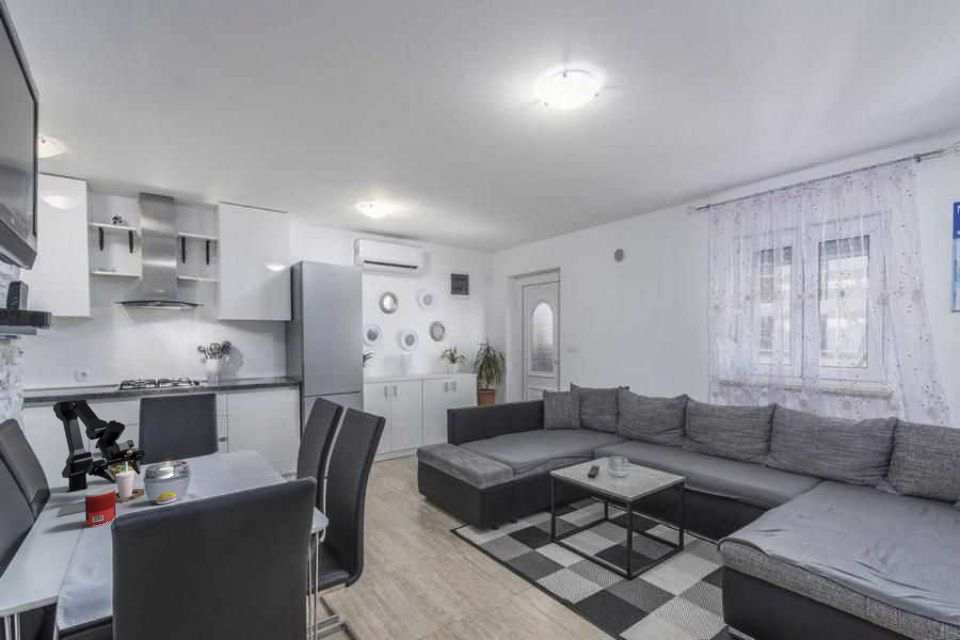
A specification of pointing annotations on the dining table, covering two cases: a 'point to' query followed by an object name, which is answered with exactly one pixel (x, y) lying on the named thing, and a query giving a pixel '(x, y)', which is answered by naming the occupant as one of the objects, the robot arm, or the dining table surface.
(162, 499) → the supplement bottle
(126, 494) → the smoothie
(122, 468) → the decorative figurine
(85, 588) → the dining table surface
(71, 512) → the coaster
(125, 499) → the collar
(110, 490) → the canned food
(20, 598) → the dining table surface
